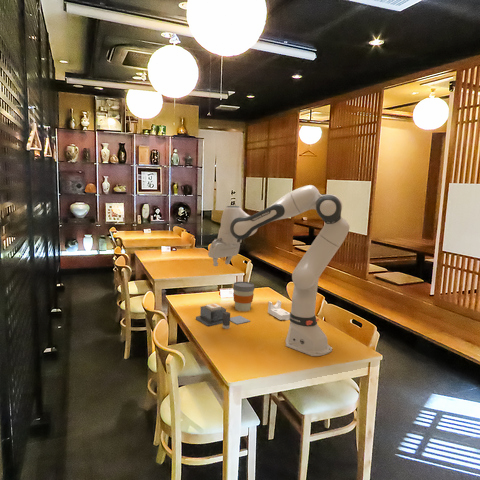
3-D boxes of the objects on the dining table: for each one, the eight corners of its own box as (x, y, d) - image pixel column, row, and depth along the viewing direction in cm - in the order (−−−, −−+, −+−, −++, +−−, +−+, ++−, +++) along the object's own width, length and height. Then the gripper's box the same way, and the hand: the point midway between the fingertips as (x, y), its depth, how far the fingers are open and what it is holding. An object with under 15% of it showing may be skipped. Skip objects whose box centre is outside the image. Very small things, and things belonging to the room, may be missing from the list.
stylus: (229, 328, 196) (230, 313, 195) (225, 329, 195) (226, 314, 193) (226, 326, 198) (227, 311, 197) (222, 327, 197) (223, 312, 195)
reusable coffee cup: (228, 309, 224) (229, 284, 222) (237, 304, 235) (238, 280, 233) (247, 313, 219) (249, 288, 217) (256, 307, 230) (258, 283, 228)
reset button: (220, 315, 205) (221, 306, 204) (211, 317, 201) (211, 308, 200) (214, 312, 209) (214, 303, 209) (205, 314, 206) (205, 304, 205)
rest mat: (250, 321, 207) (250, 320, 207) (237, 324, 201) (237, 323, 201) (239, 316, 214) (239, 315, 214) (226, 319, 208) (226, 318, 208)
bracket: (267, 314, 221) (268, 301, 220) (277, 312, 225) (278, 300, 224) (280, 321, 210) (281, 308, 209) (291, 320, 213) (291, 307, 212)
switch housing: (230, 321, 205) (230, 309, 204) (208, 326, 197) (208, 313, 196) (217, 314, 215) (217, 302, 214) (195, 319, 206) (196, 306, 205)
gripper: (218, 240, 177) (212, 269, 180) (243, 238, 194) (238, 264, 196) (208, 237, 180) (202, 265, 183) (233, 235, 197) (228, 261, 200)
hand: (221, 264), depth 190 cm, fingers open, 8 cm apart
